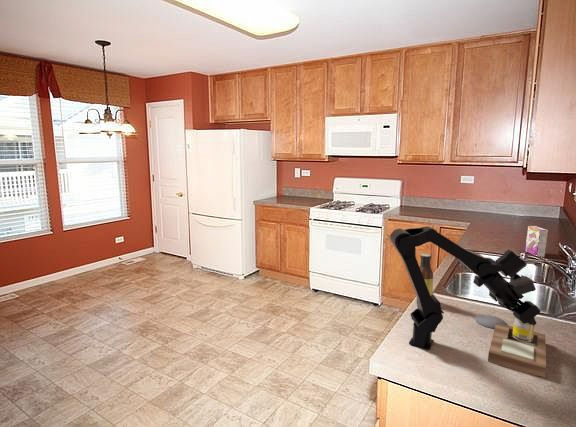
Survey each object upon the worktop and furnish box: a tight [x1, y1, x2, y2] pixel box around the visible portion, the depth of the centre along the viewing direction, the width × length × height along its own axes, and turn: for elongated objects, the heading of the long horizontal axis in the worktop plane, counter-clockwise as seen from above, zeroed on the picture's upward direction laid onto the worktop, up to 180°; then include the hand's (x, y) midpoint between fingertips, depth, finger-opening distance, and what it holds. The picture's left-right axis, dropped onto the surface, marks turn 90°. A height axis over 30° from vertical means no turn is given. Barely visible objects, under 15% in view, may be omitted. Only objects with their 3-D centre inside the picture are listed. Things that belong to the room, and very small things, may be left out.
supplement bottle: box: [512, 316, 536, 343], centre depth 115 cm, size 6×6×10 cm
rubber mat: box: [474, 314, 508, 330], centre depth 132 cm, size 10×10×1 cm
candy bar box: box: [524, 225, 549, 258], centre depth 212 cm, size 11×5×16 cm, turn 179°
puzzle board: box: [487, 323, 547, 379], centre depth 112 cm, size 22×14×4 cm, turn 145°
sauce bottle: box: [415, 253, 434, 298], centre depth 148 cm, size 7×6×20 cm
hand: (529, 319), depth 115 cm, fingers closed on supplement bottle, 6 cm apart
